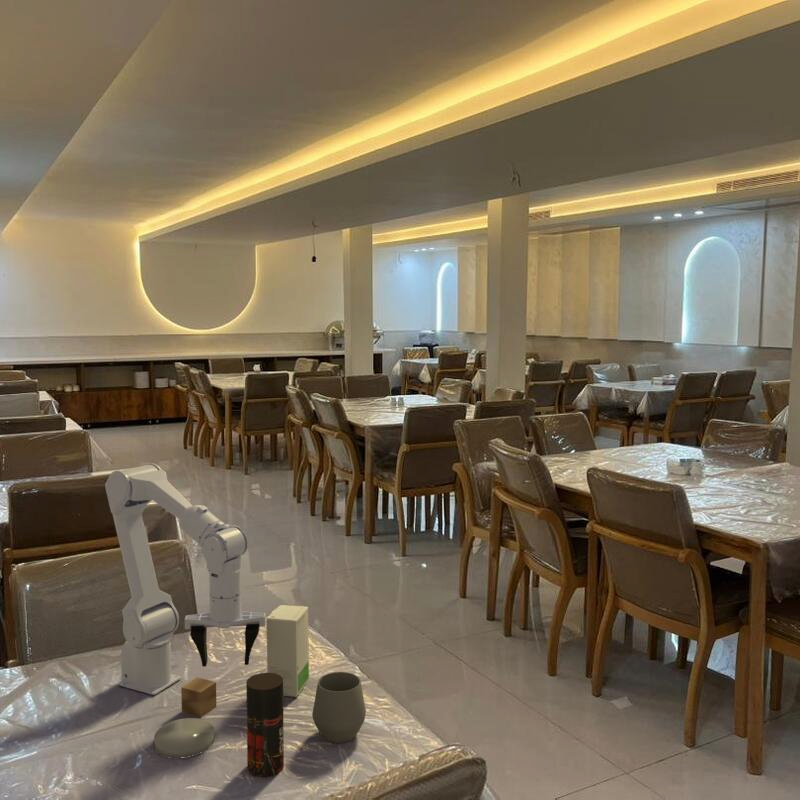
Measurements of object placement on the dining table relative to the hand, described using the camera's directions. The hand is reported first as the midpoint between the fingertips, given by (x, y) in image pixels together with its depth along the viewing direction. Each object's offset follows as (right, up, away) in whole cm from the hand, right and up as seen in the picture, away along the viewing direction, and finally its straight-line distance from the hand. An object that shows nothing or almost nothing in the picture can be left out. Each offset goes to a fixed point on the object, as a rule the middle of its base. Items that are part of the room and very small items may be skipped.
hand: (225, 663), depth 146 cm
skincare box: (+10, -9, +11) cm, 17 cm away
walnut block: (-5, -9, +2) cm, 11 cm away
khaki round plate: (-5, -11, -9) cm, 15 cm away
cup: (+22, -11, -6) cm, 25 cm away
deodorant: (+10, -12, -16) cm, 23 cm away
